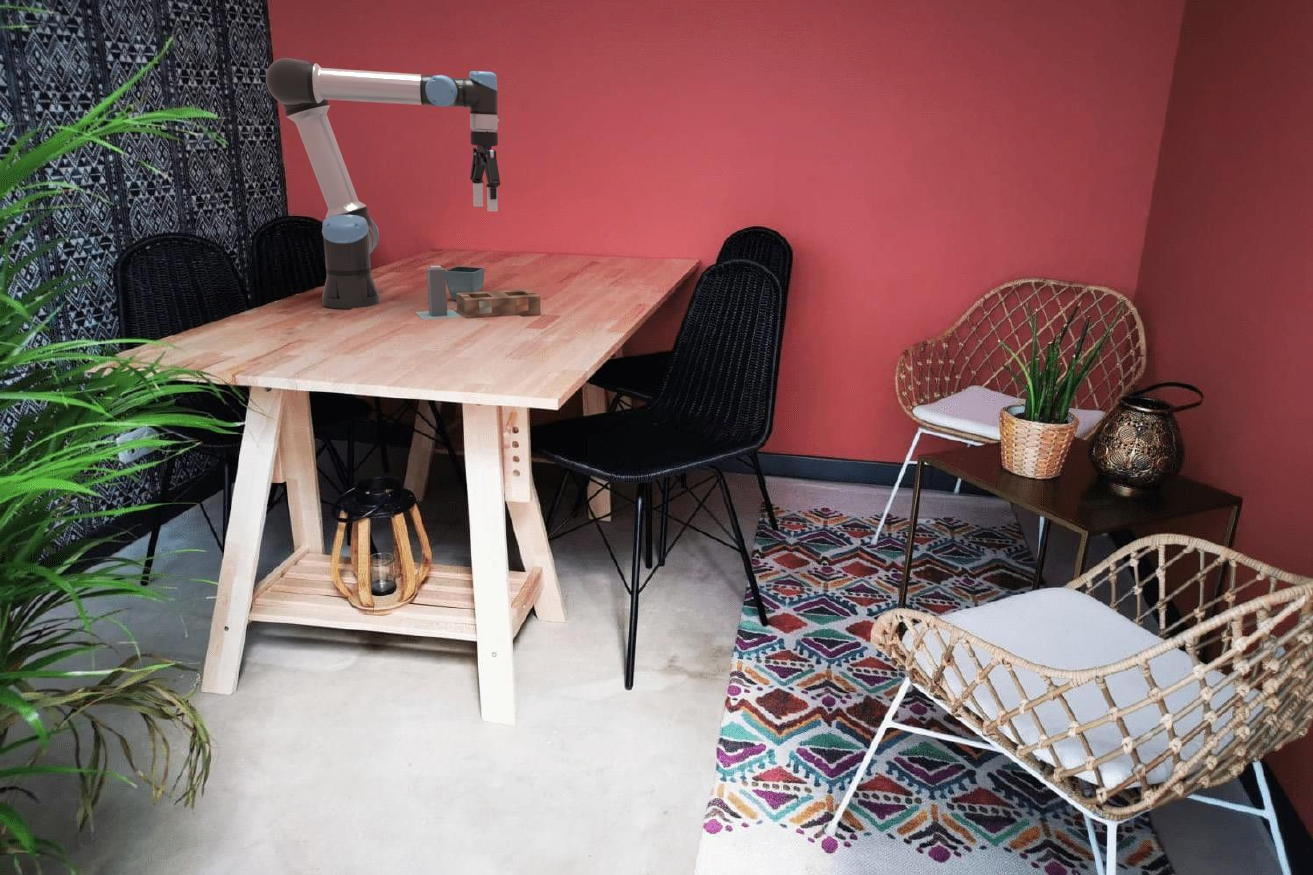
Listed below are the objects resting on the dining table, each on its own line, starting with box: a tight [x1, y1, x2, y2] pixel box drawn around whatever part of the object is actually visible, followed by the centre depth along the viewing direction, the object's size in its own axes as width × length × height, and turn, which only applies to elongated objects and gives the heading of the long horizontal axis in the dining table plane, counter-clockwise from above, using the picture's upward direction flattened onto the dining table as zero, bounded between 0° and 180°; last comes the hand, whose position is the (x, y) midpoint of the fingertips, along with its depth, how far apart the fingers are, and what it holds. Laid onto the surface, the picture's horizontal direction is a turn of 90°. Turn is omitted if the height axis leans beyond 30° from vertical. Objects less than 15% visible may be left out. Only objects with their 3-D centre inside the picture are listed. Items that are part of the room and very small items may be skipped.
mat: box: [415, 309, 462, 321], centre depth 247 cm, size 10×10×1 cm
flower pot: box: [445, 265, 486, 301], centre depth 267 cm, size 9×9×9 cm
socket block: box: [455, 288, 542, 319], centre depth 252 cm, size 20×11×5 cm, turn 114°
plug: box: [426, 265, 448, 316], centre depth 245 cm, size 4×4×13 cm
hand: (485, 209), depth 268 cm, fingers open, 13 cm apart
